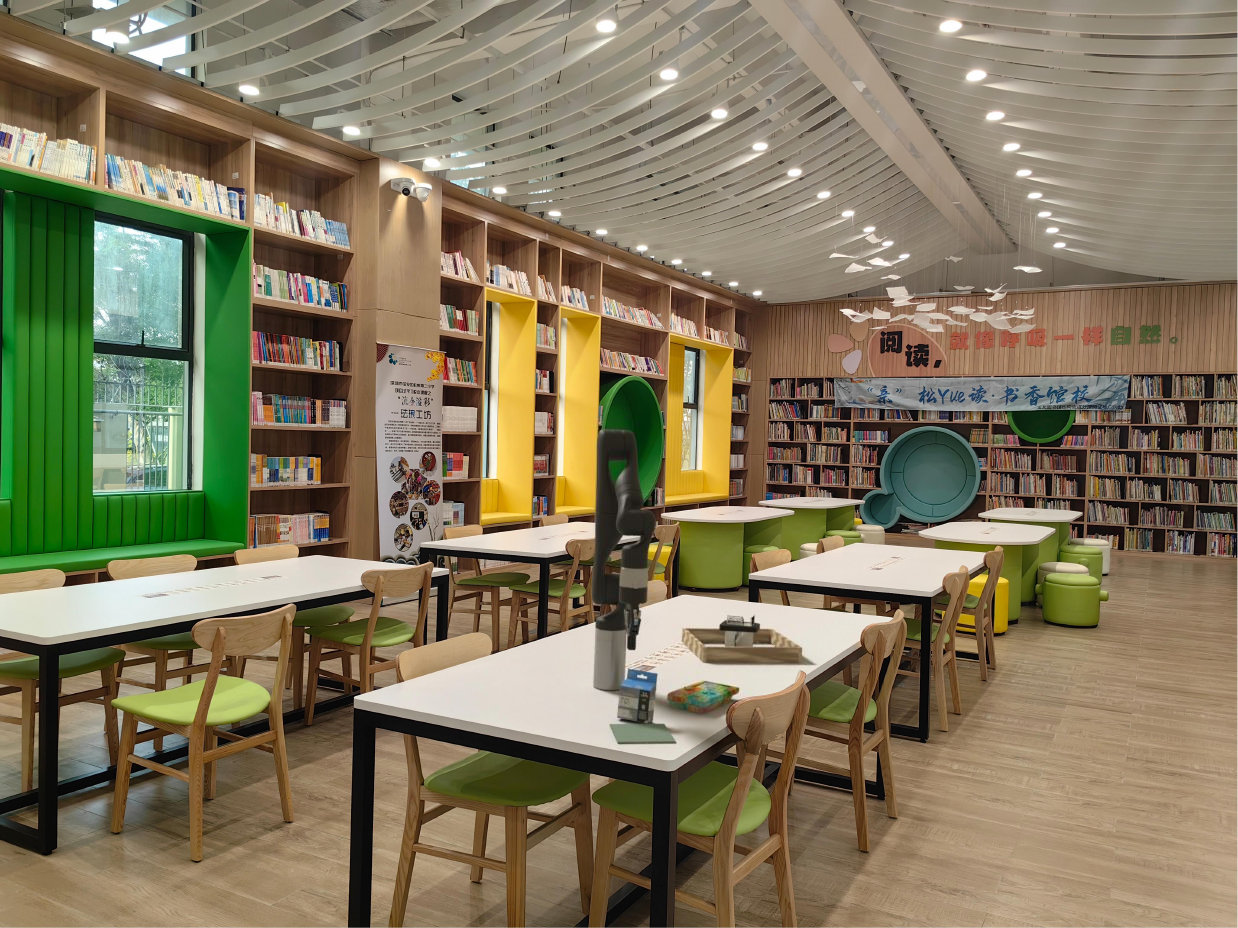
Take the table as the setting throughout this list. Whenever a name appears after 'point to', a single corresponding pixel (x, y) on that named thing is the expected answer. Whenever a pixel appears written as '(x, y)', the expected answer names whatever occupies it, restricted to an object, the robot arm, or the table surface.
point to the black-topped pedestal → (739, 632)
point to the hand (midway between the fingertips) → (631, 649)
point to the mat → (641, 733)
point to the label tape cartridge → (637, 697)
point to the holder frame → (780, 653)
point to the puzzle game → (702, 696)
